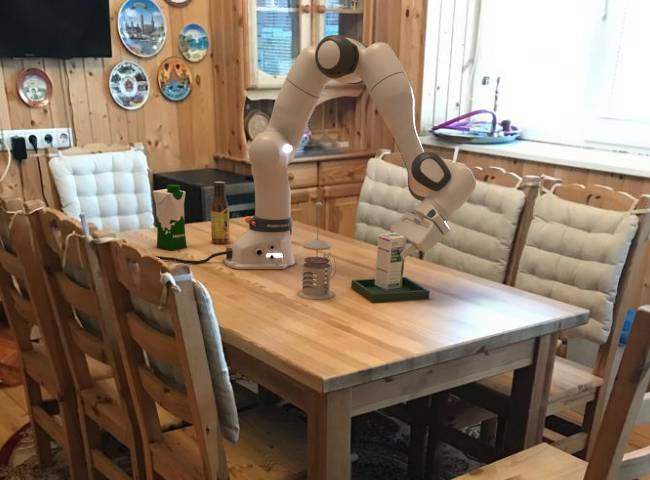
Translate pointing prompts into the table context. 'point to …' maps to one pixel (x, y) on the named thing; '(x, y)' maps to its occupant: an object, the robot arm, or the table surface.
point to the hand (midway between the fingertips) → (394, 253)
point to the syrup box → (389, 261)
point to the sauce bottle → (219, 215)
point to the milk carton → (170, 217)
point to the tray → (390, 291)
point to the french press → (317, 269)
